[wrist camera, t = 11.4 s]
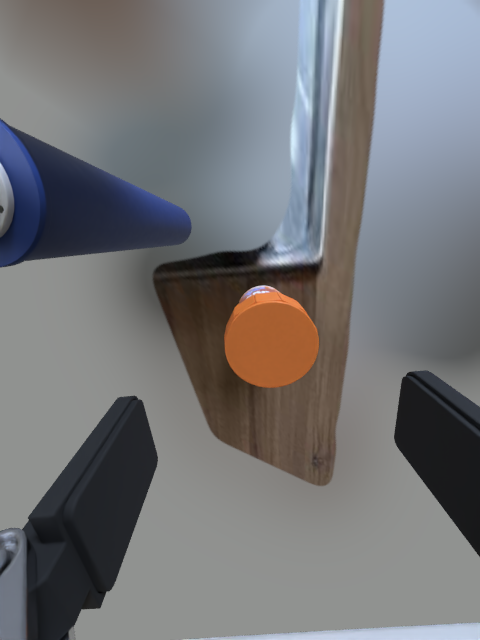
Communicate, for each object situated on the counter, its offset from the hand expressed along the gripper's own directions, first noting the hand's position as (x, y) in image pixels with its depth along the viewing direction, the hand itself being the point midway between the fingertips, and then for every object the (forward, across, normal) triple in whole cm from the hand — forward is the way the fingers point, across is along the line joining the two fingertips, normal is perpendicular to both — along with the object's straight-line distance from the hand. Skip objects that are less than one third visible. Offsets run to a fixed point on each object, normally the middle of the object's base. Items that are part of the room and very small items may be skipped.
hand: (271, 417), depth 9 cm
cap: (+15, -1, +3) cm, 15 cm away
